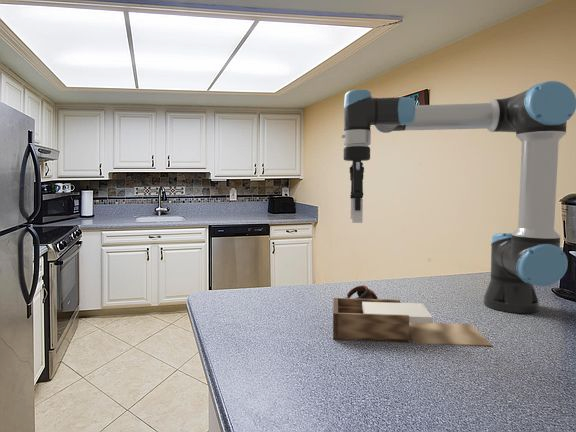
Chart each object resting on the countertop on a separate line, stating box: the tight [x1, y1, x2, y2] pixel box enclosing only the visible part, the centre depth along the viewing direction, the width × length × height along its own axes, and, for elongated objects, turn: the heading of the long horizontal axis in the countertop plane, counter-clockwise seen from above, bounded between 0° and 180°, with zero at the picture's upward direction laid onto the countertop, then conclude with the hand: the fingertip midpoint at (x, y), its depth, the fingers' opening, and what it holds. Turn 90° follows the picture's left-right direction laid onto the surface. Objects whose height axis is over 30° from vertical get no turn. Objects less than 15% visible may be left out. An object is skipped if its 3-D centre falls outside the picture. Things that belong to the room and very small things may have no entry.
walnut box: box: [332, 297, 410, 344], centre depth 107 cm, size 18×15×6 cm
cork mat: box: [409, 322, 493, 347], centre depth 105 cm, size 18×15×1 cm
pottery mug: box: [346, 284, 379, 299], centre depth 127 cm, size 12×10×8 cm
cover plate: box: [362, 302, 434, 323], centre depth 106 cm, size 16×12×2 cm
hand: (356, 220), depth 119 cm, fingers open, 13 cm apart
